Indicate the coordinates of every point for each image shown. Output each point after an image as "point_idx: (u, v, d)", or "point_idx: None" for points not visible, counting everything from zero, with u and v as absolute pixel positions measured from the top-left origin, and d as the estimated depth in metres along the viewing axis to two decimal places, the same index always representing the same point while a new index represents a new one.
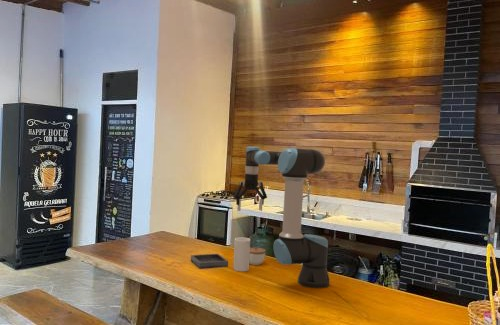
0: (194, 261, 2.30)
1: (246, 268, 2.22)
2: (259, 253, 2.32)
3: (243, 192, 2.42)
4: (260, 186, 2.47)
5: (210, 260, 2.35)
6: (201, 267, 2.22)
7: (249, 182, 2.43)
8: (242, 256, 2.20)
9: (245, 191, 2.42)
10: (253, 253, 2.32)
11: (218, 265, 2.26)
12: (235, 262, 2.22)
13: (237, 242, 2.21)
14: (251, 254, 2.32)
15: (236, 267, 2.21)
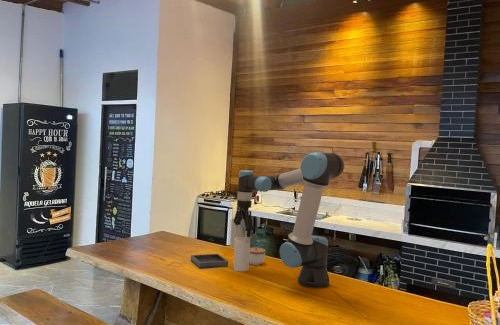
0: (194, 261, 2.30)
1: (246, 268, 2.22)
2: (259, 253, 2.32)
3: (237, 218, 2.28)
4: (247, 215, 2.18)
5: (210, 260, 2.35)
6: (201, 267, 2.22)
7: (240, 208, 2.25)
8: (242, 256, 2.20)
9: (238, 217, 2.27)
10: (253, 253, 2.32)
11: (218, 265, 2.26)
12: (235, 262, 2.22)
13: (237, 242, 2.21)
14: (251, 254, 2.32)
15: (236, 267, 2.21)
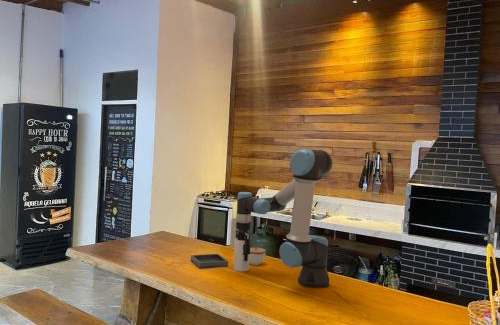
0: (194, 261, 2.30)
1: (246, 268, 2.22)
2: (259, 253, 2.32)
3: None
4: None
5: (210, 260, 2.35)
6: (201, 267, 2.22)
7: (239, 229, 2.25)
8: (242, 256, 2.20)
9: None
10: (253, 253, 2.32)
11: (218, 265, 2.26)
12: (235, 262, 2.22)
13: (237, 242, 2.21)
14: (251, 254, 2.32)
15: (236, 267, 2.21)
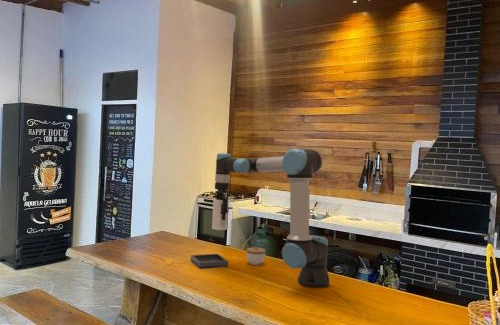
0: (194, 261, 2.30)
1: (224, 227, 2.27)
2: (259, 253, 2.32)
3: None
4: None
5: (210, 260, 2.35)
6: (201, 267, 2.22)
7: (218, 190, 2.30)
8: None
9: None
10: (253, 253, 2.32)
11: (218, 265, 2.26)
12: (213, 221, 2.27)
13: (215, 201, 2.26)
14: (251, 254, 2.32)
15: (214, 226, 2.26)
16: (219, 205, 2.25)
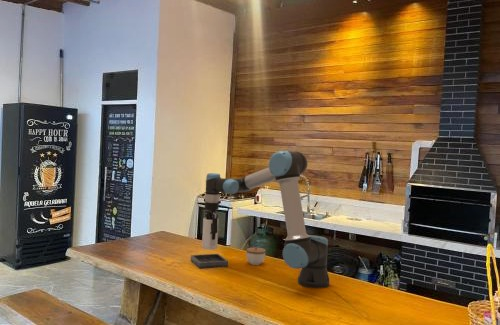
0: (194, 261, 2.30)
1: (214, 246, 2.29)
2: (259, 253, 2.32)
3: None
4: None
5: (210, 260, 2.35)
6: (201, 267, 2.22)
7: (208, 209, 2.32)
8: None
9: None
10: (253, 253, 2.32)
11: (218, 265, 2.26)
12: (203, 241, 2.29)
13: (205, 221, 2.28)
14: (251, 254, 2.32)
15: (204, 245, 2.29)
16: (209, 225, 2.27)
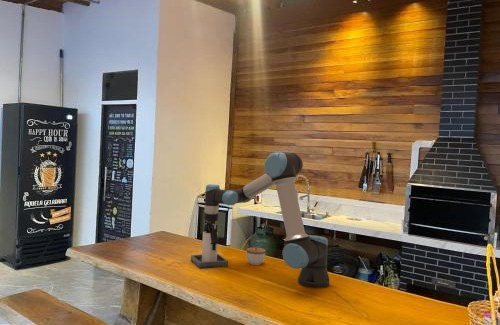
0: (194, 261, 2.30)
1: (214, 260, 2.29)
2: (259, 253, 2.32)
3: None
4: None
5: None
6: (201, 267, 2.22)
7: (208, 221, 2.32)
8: (210, 249, 2.28)
9: (206, 231, 2.34)
10: (253, 253, 2.32)
11: (218, 265, 2.26)
12: (203, 255, 2.29)
13: (205, 235, 2.29)
14: (251, 254, 2.32)
15: (204, 259, 2.29)
16: (208, 239, 2.28)
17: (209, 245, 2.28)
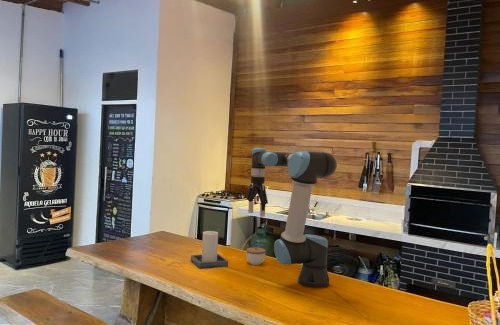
0: (194, 261, 2.30)
1: (214, 261, 2.29)
2: (259, 253, 2.32)
3: (250, 194, 2.39)
4: None
5: None
6: (201, 267, 2.22)
7: (254, 185, 2.36)
8: (210, 249, 2.28)
9: (252, 193, 2.38)
10: (253, 253, 2.32)
11: (218, 265, 2.26)
12: (203, 255, 2.29)
13: (205, 235, 2.28)
14: (251, 254, 2.32)
15: (204, 260, 2.29)
16: (208, 239, 2.28)
17: (209, 245, 2.28)
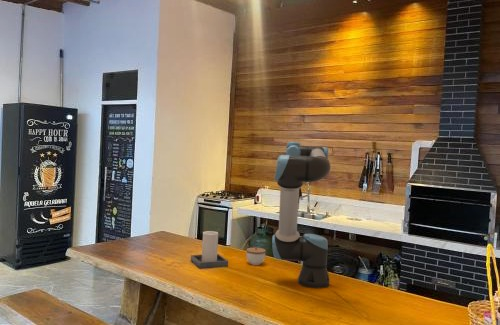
0: (194, 261, 2.30)
1: (214, 261, 2.29)
2: (259, 253, 2.32)
3: None
4: None
5: None
6: (201, 267, 2.22)
7: None
8: (210, 249, 2.28)
9: None
10: (253, 253, 2.32)
11: (218, 265, 2.26)
12: (203, 255, 2.29)
13: (205, 235, 2.28)
14: (251, 254, 2.32)
15: (204, 260, 2.29)
16: (208, 239, 2.28)
17: (209, 245, 2.28)
